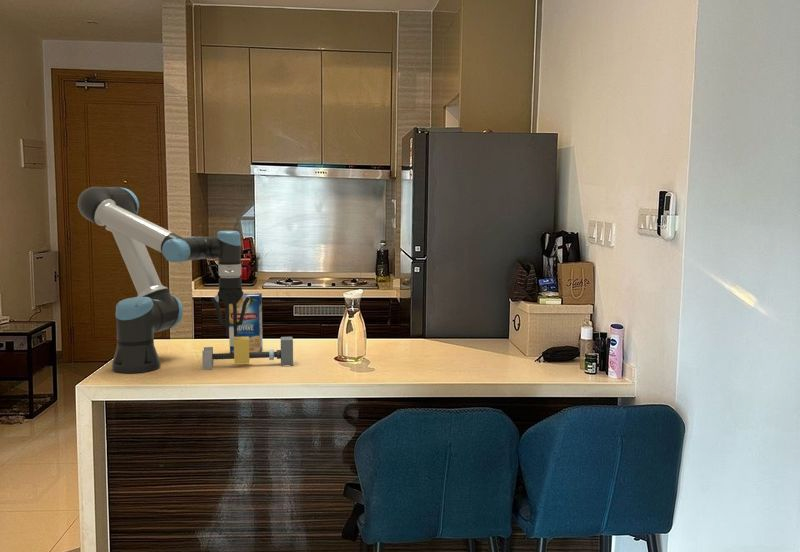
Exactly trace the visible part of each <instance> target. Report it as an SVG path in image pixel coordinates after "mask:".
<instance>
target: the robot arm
mask: <svg viewBox="0 0 800 552" xmlns="http://www.w3.org/2000/svg"><path fill="white" fill-rule="evenodd" d="M139 202H140V201H139V200H138V197H137V196H136V194H135V192H133V191H132V190H130V189H128V188H126V187H120V186H91V187H88V188H86V189H84V190H83V191H82V192H81V193H80V194H79V196H78V199H77V209H78V211H79V213H80V215H81V216H82V217H83V218H85V219H86V220H87V221H89V222H91V223H93V224H95V225H98V226H100V227H104V228H105V230H106V231H108V232H110V233H112V235H113V238H114V240H115V243H116V245H117V248H118V249H119V252H120V255H121V256H122V260H123V262H124V263H125V266H126V269H127V271H128V273H129V277H130V278H131V280H132V283H133V285H134V288H135V290H136V292H137V296H134V297H128V298H124V299H122V300H120V301H118V303H117V304H116V305H115V313H114V316H115V325H116V326H115V327H116V330H115V331H116V349H115V353H114V356H113V360H112V362H111V363H112V364H111V369H112V371H113V372H115V373H122V374H136V373H137V374H139V373H145V372H151V371H155V370H158V369H159V368H160V367H161V360H160V357H159V354H158V352H157V349H156V347H155V343H154V342H155V340H154V339H155V337H154V336H155V335H154V334H155V333H159V332H163V331H167V330H170V329H172V328H174V327H176V326H177V325H179V324H180V323H181V321H182V317H183V315H184V307H183V303H182V302H181V300H180V299H179V298H178V297H176V296H175V295H173V294H171V292H170V289H169V287H167V286H164V285H163V284H162V282H161V280H160V277H159V275H158V273H157V270H156V268H155V265H154V263H153V259H152V258H151V256H150V253H149V251H148V249H147V247H149V248H151V249H153V250H155V251H157V252H159V253H161V254H162V255H163V257H164V258H165V260H166V261H167V262H171V263H182V262H187V261H195V260H196V261H198V260H207V259H208V260H209V259H214V260H217V261H218V262H217V263H218V269H217V270H218V276H219V278H218V292H217V294H216V295H215V296H213V297H211V300H210V301H211V302H212V303H213V305H214V308H215V312H216V314H217V318H218V322H219V325H220V326H223V327H225V336H226V337H229V339H228V340H229V347H230V346H234V336H237V327H238V326H239V325H242V323H243V318H244V314H245V309H246V305H247V303H248V301H249V300H250V297H249V296H246V295H244V294H243V293H244V290H243V283H242V282H243V281H242V277H241V276H242V258H241V257H242V256H241V255H242V252H241V251H242V249H241V247H242V242H241V234H240V232H239V231H237V230H218V232H217V236H201V235H196V236H190V237H189V236H188V237H184V236H183V237H182V236H181V235H178V234H176V233H174V232H172V231H170V230H168V229H166V228H164V227H162V226H160V225H158V224H156V223H154V222H151V221H149V220H148V219H145V218H143V217H142V216H140V215H138V213H139V208H140V203H139ZM241 297H243V299H242V300H243V301H244V302H243V306H242V311H241V315H240V319H239V321H238V322H237V303H238V302H239V300H240V299H241ZM220 300H221V301H222V303H223V304H224V312H225V313H224V315H225V316H224V317H225V318H223V314H222V311H221V307H220V303H219V301H220ZM229 304H233V326H229ZM224 319H225V321H224Z"/></svg>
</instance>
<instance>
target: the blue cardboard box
mask: <svg viewBox="0 0 800 552" xmlns="http://www.w3.org/2000/svg"><path fill="white" fill-rule="evenodd" d="M243 294H244V295H246V296H249V297H250V300H249V301H248V303H247V305H246V309H245V314H244V318H243V323H242V325H239V326H238V327H237V336H234V337H249V352H262V351H263V296H262V295H263V293H262V292H261V293H256V292H254V293H252V292H251V293H246V292H243ZM242 299H243V297H241V299H240V300H239V302H238V303H237V322H238V321H239V319H240V315H241V311H242V306H243V302H244V301H243V300H242ZM229 326H233V304H229ZM263 352H264V351H263ZM229 353H234V346H230V345H229Z"/></svg>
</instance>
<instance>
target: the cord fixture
mask: <svg viewBox="0 0 800 552" xmlns="http://www.w3.org/2000/svg"><path fill="white" fill-rule="evenodd" d="M201 353H202V358H201V359H202V360H201V361H202V370H204V371H206V370H207V371H208V370H213V367H214V361H215V360H216V361H217V360H234V353H230V352H228V353H227V352H226V353H225V352H223V353H220V352H219V353H214V346H205V347H204V346H203V350H202V351H201ZM249 358H250V359H266V358H267V359H269V361H274V360H275V358H276V359H277V360H280V365H281V367H284V366H283V365H293V366H294V339H293V336H281V337H280V349H276V351H274V349H273V348H272V349H268V351H263V352H249Z"/></svg>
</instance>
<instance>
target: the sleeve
mask: <svg viewBox="0 0 800 552" xmlns="http://www.w3.org/2000/svg"><path fill="white" fill-rule="evenodd" d="M250 359H251V358H249V337H234V359H233V362H234V365H236V364H250Z"/></svg>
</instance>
